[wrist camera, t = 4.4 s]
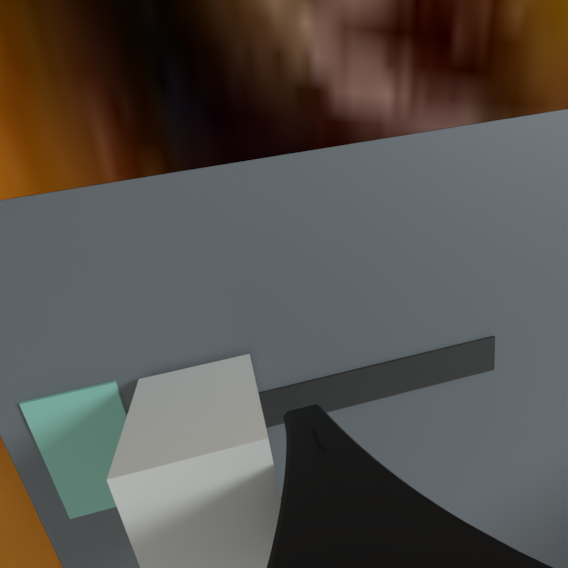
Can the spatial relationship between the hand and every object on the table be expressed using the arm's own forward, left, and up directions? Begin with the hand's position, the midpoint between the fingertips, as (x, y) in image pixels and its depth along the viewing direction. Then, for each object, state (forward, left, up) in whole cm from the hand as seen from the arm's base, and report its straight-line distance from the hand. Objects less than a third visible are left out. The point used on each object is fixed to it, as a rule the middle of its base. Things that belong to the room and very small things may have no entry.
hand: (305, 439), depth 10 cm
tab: (+3, 0, -1) cm, 3 cm away
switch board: (-2, +5, -3) cm, 6 cm away
